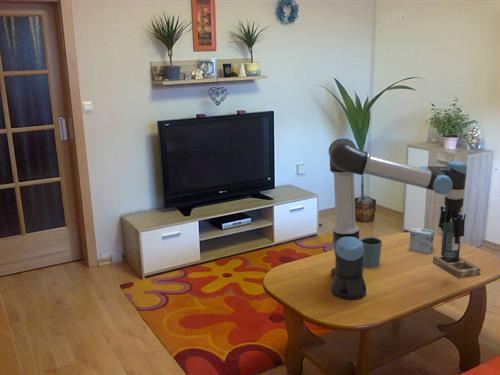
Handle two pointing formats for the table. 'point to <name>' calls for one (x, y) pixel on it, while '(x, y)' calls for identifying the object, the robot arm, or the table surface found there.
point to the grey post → (453, 258)
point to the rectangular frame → (457, 267)
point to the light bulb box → (421, 240)
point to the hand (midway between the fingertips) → (449, 246)
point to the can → (448, 240)
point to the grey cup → (371, 251)
